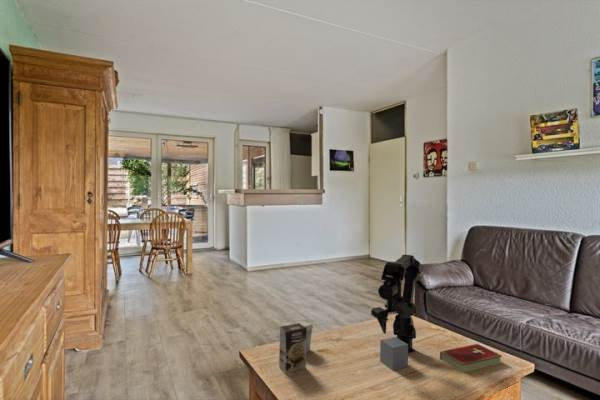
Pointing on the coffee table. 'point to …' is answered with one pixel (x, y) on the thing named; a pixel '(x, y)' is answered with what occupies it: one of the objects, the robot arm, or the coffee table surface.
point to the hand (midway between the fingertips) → (393, 331)
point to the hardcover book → (470, 357)
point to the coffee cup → (309, 332)
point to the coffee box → (292, 347)
